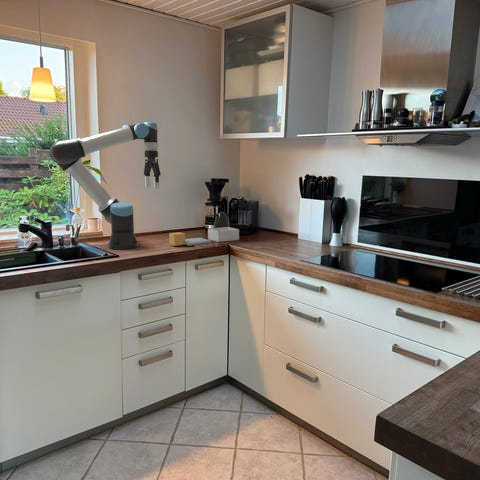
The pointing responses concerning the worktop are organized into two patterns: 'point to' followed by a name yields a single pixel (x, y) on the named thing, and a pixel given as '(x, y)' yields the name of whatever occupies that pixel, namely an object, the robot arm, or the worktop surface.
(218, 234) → the tub
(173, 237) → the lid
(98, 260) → the worktop surface
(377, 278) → the worktop surface
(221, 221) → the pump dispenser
